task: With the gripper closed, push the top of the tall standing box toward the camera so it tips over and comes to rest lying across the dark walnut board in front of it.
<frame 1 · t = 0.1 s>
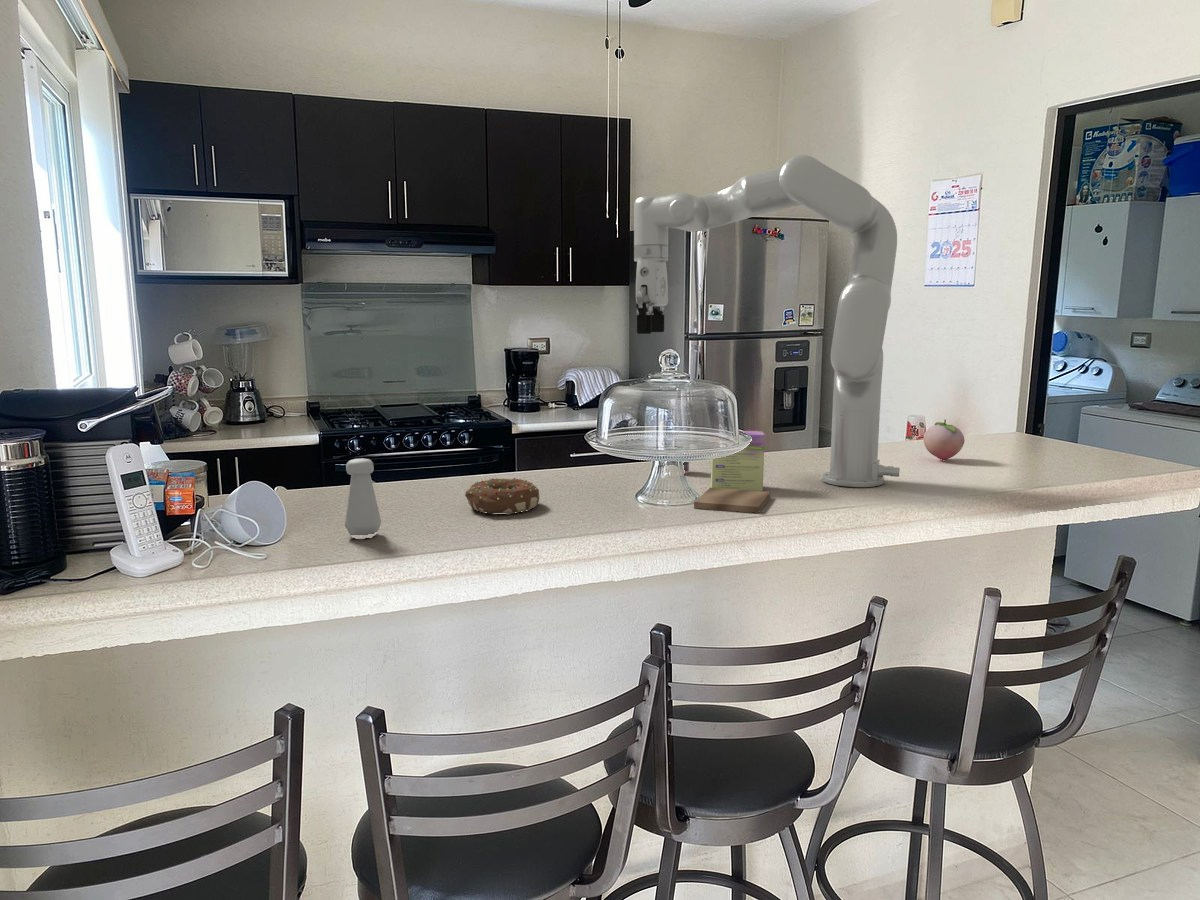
hand: (650, 332, 191), 31 cm above the countertop, tool pointing down, fingers open, 9 cm apart
pill bottle: (677, 473, 192), on the countertop
box: (736, 489, 175), on the countertop
decorative fruit: (941, 461, 203), on the countertop
donut: (502, 510, 160), on the countertop
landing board: (733, 502, 163), on the countertop
salt shaker: (363, 537, 141), on the countertop
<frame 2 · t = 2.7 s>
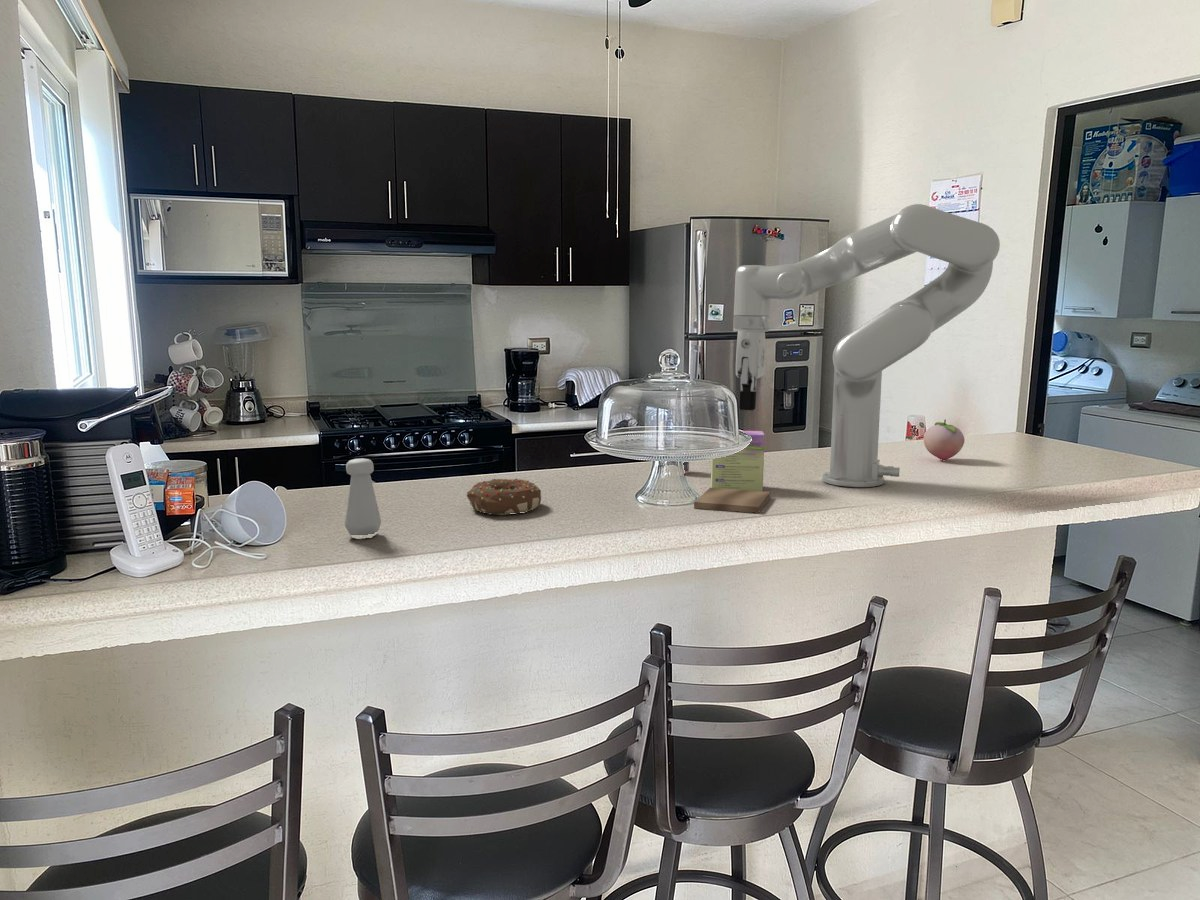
hand: (747, 409, 185), 15 cm above the countertop, tool pointing down, fingers closed
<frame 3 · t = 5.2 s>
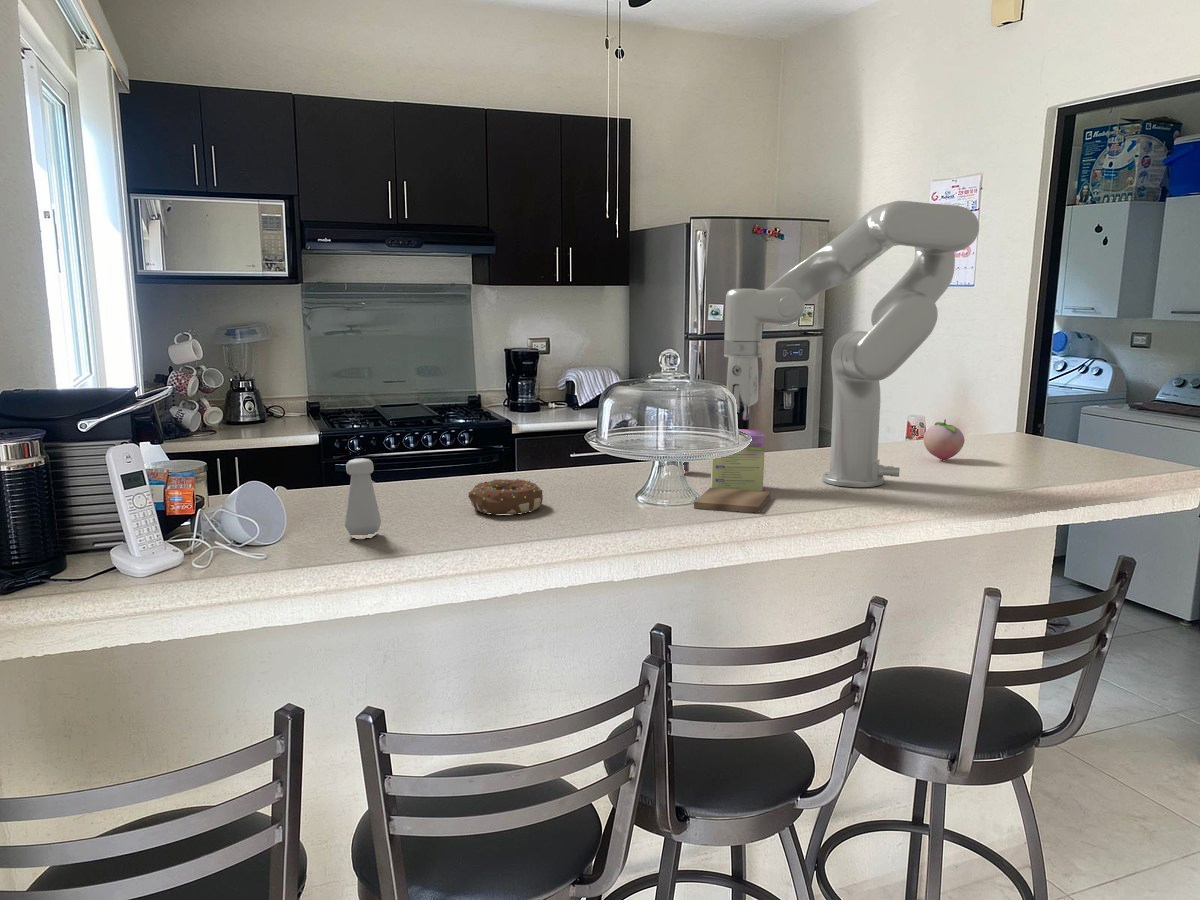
hand: (739, 438, 177), 10 cm above the countertop, tool pointing down, fingers closed
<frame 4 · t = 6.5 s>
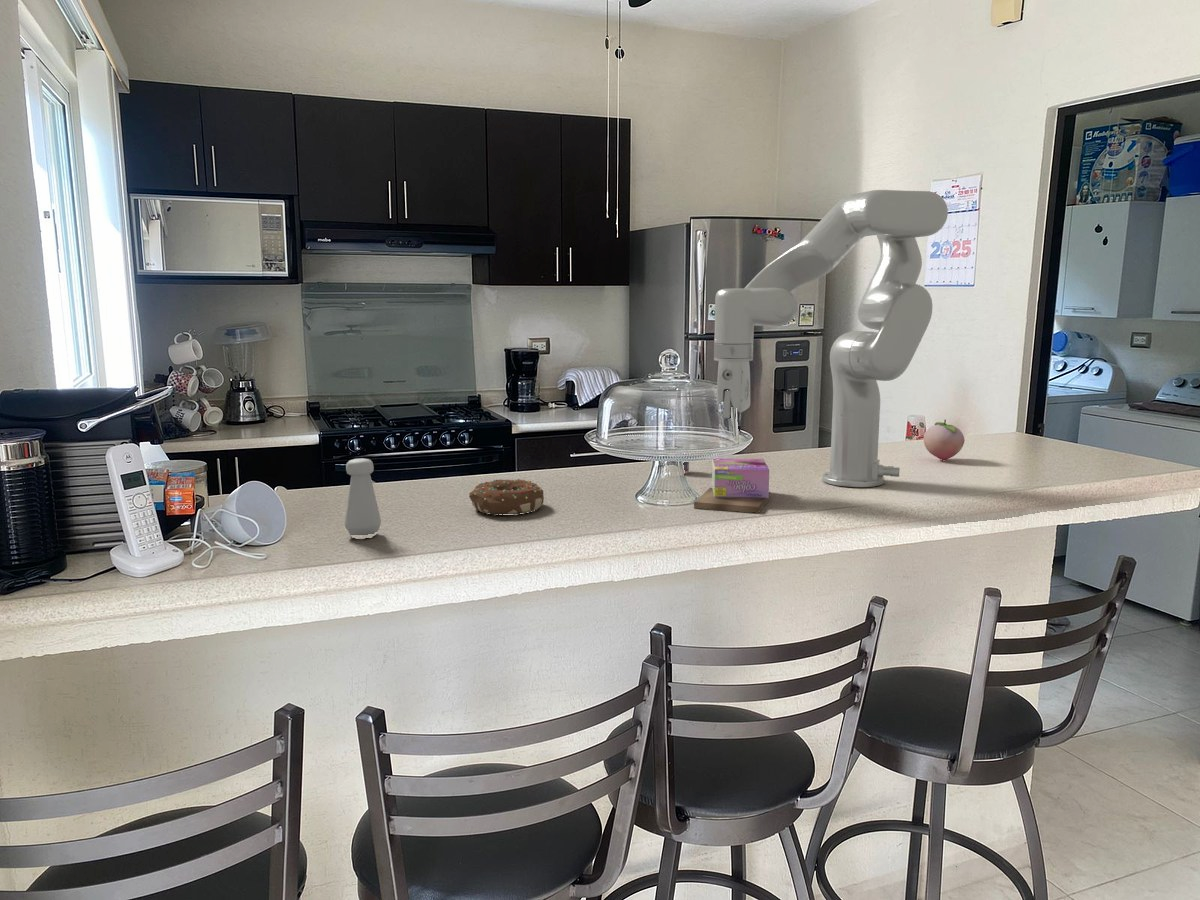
hand: (731, 445, 169), 10 cm above the countertop, tool pointing down, fingers closed
box: (737, 471, 172), point 4 cm above the countertop, touching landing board
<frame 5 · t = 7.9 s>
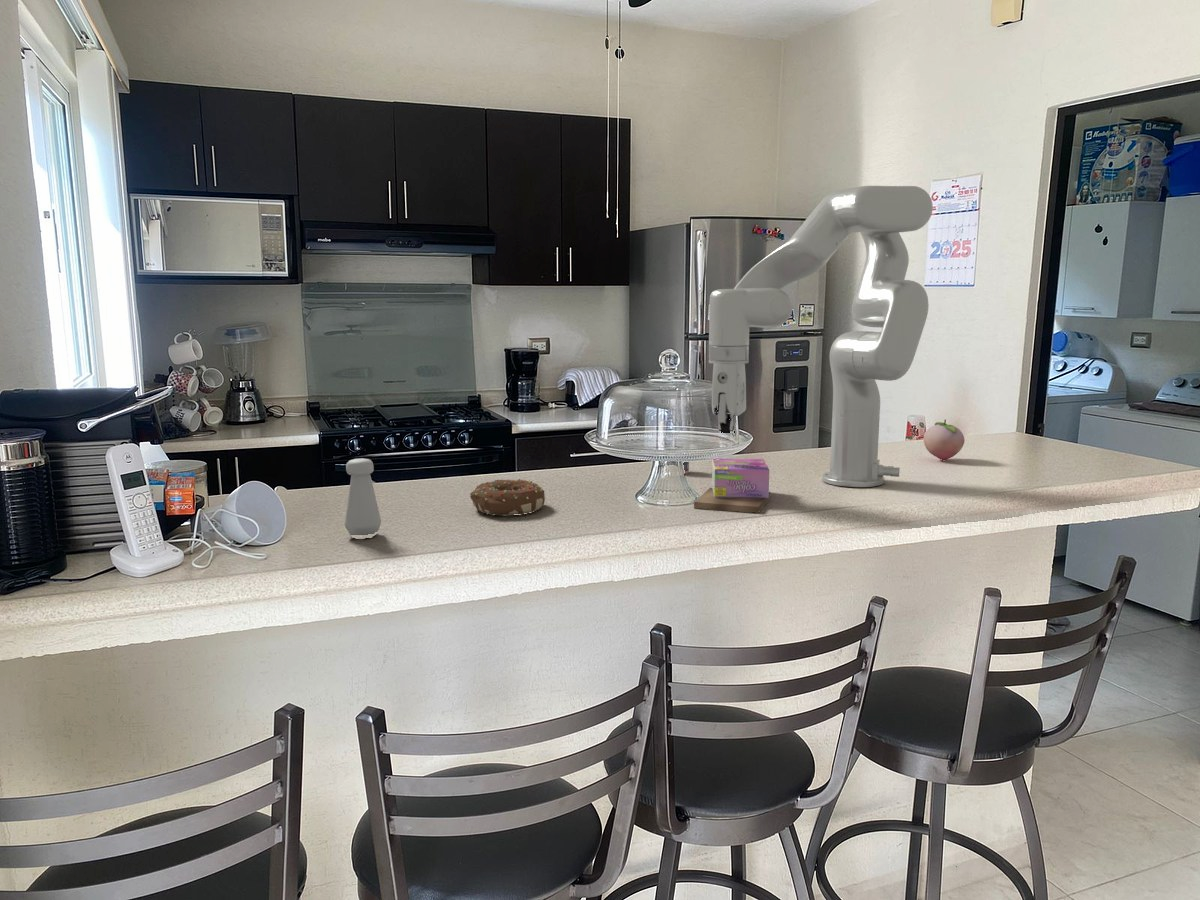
hand: (726, 450, 164), 10 cm above the countertop, tool pointing down, fingers closed
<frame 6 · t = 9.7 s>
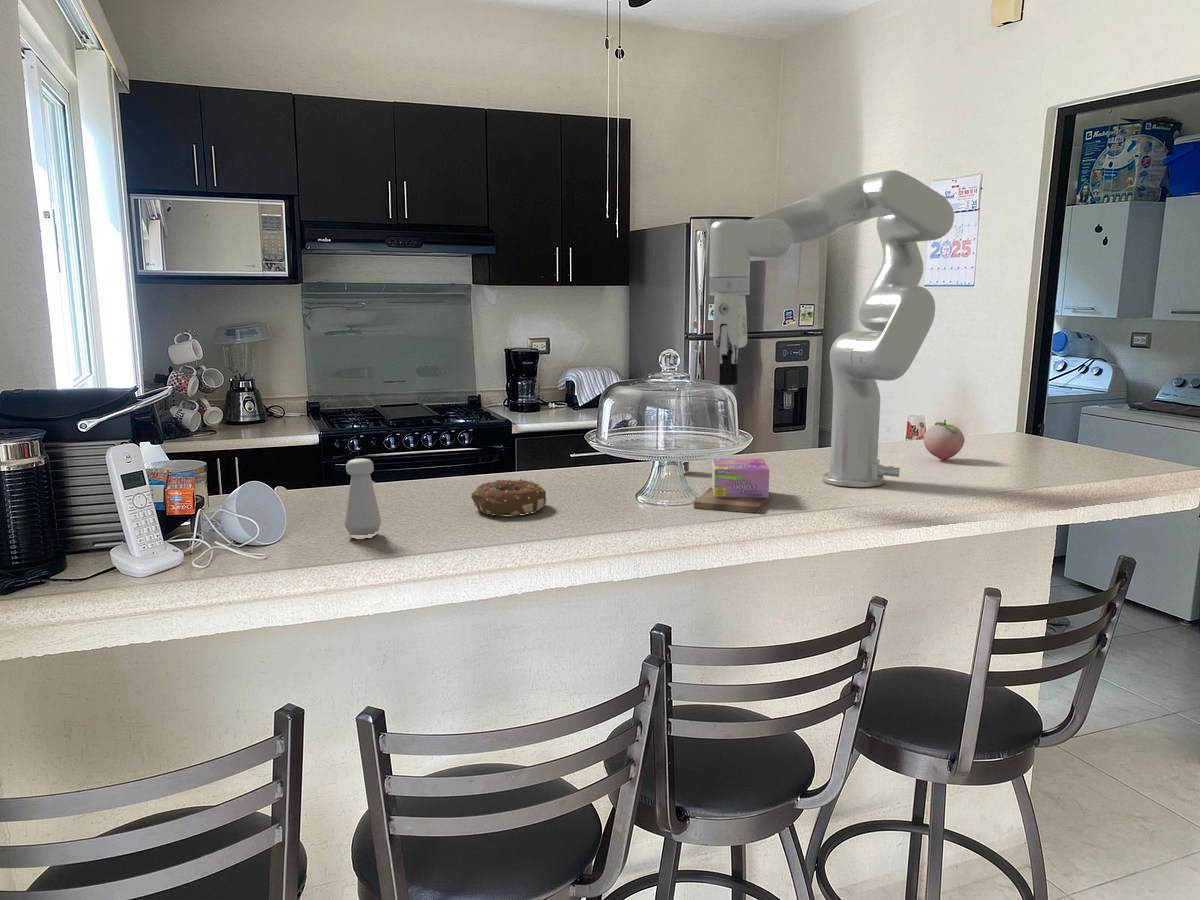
hand: (728, 384, 164), 22 cm above the countertop, tool pointing down, fingers closed
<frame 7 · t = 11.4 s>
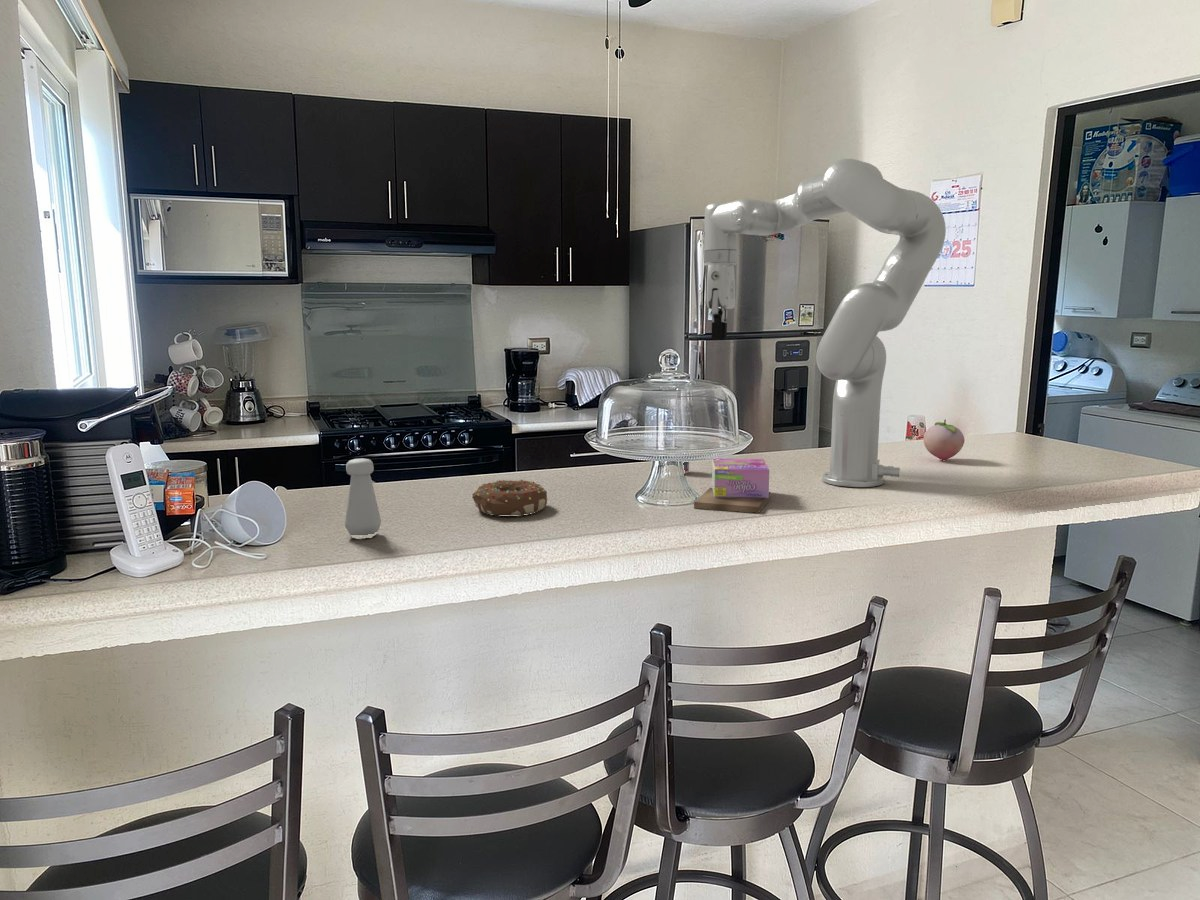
hand: (719, 339, 198), 29 cm above the countertop, tool pointing down, fingers closed
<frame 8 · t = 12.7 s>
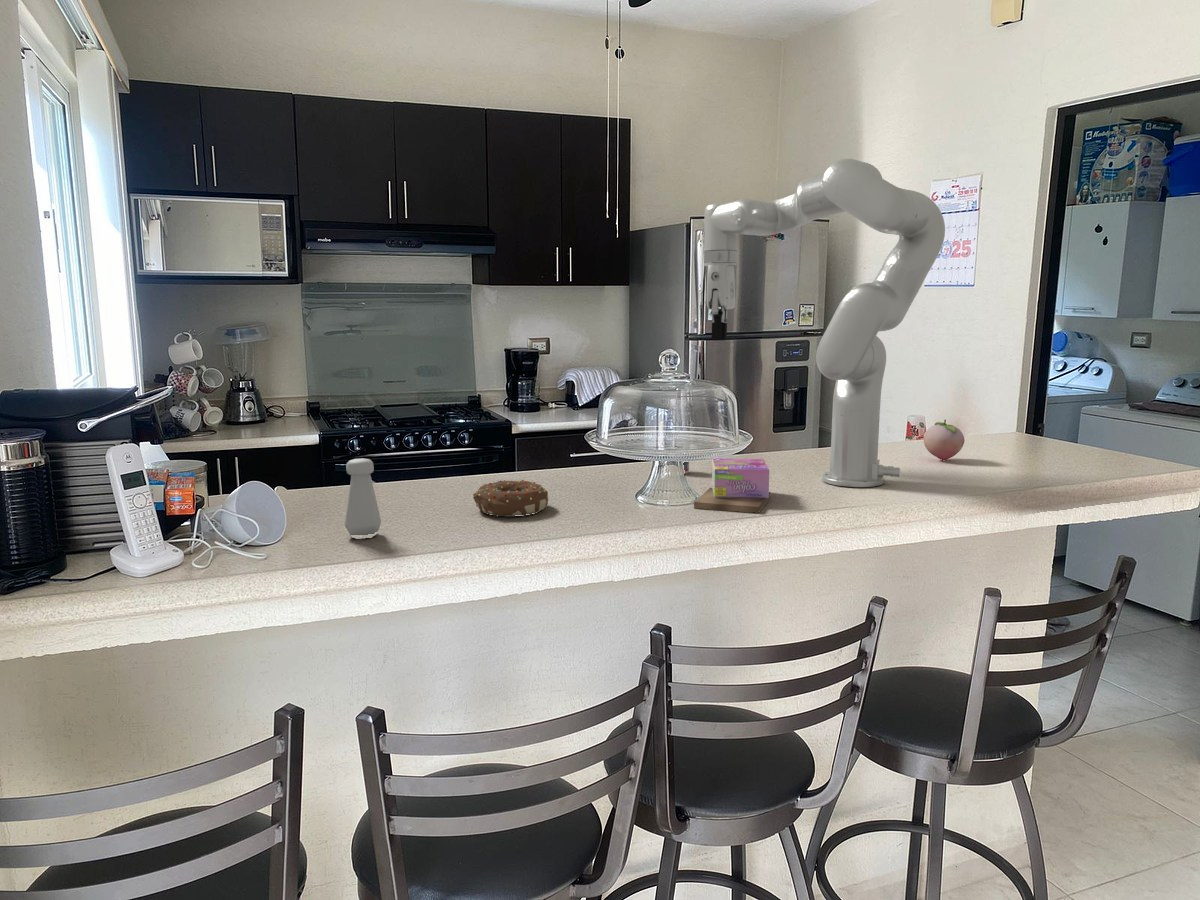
hand: (719, 340, 198), 29 cm above the countertop, tool pointing down, fingers closed
at the end: box tilted 90°; box touching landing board; box inside the target area (5.7 cm from its centre), point 4.0 cm above the countertop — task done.
